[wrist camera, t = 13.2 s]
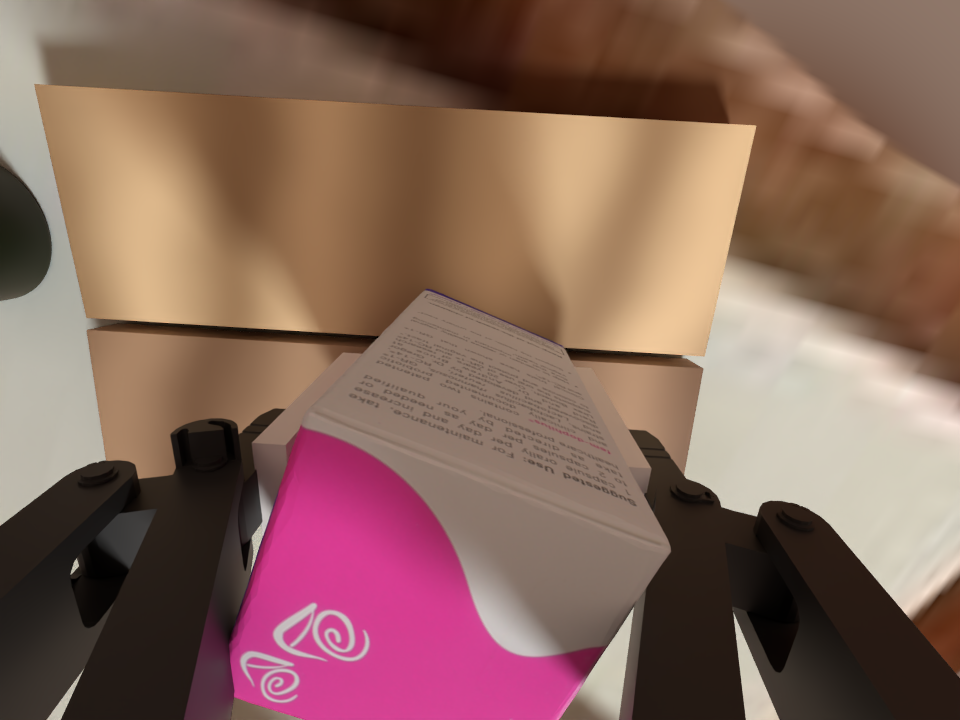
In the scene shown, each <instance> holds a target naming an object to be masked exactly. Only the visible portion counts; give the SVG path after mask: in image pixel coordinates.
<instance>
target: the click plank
mask: <svg viewBox="0 0 960 720" xmlns="http://www.w3.org/2000/svg"><path fill="white" fill-rule="evenodd" d="M87 336H88V343H89V349H90V356H91V363H92V369H93V376H94V382H95V389H96V396H97V402H98V409H99V416H100V422H101V429H102V435H103V442H104V449H105V455H106V461H114V460H122V461H129V462H131V463H133V464H135V466H136V470H137V475H138V479H142V478H151V477H159V476H168V475H173V473H174V471H175V469H176V465H175V460H174V454H173V449H172V443H171V437H170V434H171V433H172V432H173V431H174V430H175V429H177V428H179V427H181V426H183V425H185V424H188V423H191V422H194V421H197V420H204V419H210V418H223V419H228V420H232V421H234V422H235V423H237V426H238V433H239V434H240V433H242V431H243V430H244V429H245V428H246V427H247V426H250V424H251V423H252V422H253V421H254V420H255V419H256V418H257V417H258V416H259V415H261V414H263V413H266V412H268V411H270V410H272V409H274V408H279V409H286V408H287V407H288V406H289V405H290V404H291V403H292V402H293V401H294V400H296V399H297V398H298V397H299V396H300V395H301V394H302V393H303V392H304V391H305V390H306V389H307V388H308V387H309V386H310V385H311V384H312V383H313V382H314V381H315V380H316V379H317V378H318V377H319V376H320V375H321V374H322V373H323V372H324V371H325V370H326V369H327V368H328V367H329V366H330V365H331V364H332V363H333V362H334V361H335V360H336V359H337V358H338V357H339V356H340V355H341V354H342V353H359V354H363V353H364V352H365V351H366V350H367V349H368V347H369V346H370V345H371V344H372V343H373V342H374V341H375V340H376V339H364V338H348V337H332V336H316V335H300V334H284V333H268V332H252V331H236V330H220V329H203V328H187V327H171V326H155V325H139V324H123V323H117V324H113V325H108V326H103V327H98V328H94V329H89V330H87ZM566 352H567V354H568V356H569V358H570V360H571V362H572V364H573V365H574V367H584V368H592V369H593V371H594V373H595V375H596V376H597V378H598V380H599V381H600V383H601V385H602V386H603V388H604V390H605V391H606V393H607V395H608V396H609V398H610V400H611V401H612V403H613V405H614V406H615V408H616V410H617V411H618V413H619V415H620V416H621V418H622V420H623V422H624V423H625V425H626V427H627V428H628V429H631V430H646V431H647V432H649V433H650V434H652V435H653V436H655V437H656V438H657V439H659V441H660V442H661V443H662V445H663V446H664V448H665V451H667V452H668V453H669V455H670V456H671V459H673V461H674V462H675V463H676V465H677V466H678V468H679V469H680V471H681V472H682V473H683V475H684V472H685V466H686V461H687V455H688V450H689V444H690V439H691V433H692V428H693V422H694V417H695V411H696V406H697V400H698V395H699V389H700V384H701V378H702V373H703V368H702V367H700V366H698V365H696V364H695V363H693V362H691V361H690V360H688V359H684V358H668V357H652V356H636V355H620V354H604V353H588V352H572V351H566Z"/></svg>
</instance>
